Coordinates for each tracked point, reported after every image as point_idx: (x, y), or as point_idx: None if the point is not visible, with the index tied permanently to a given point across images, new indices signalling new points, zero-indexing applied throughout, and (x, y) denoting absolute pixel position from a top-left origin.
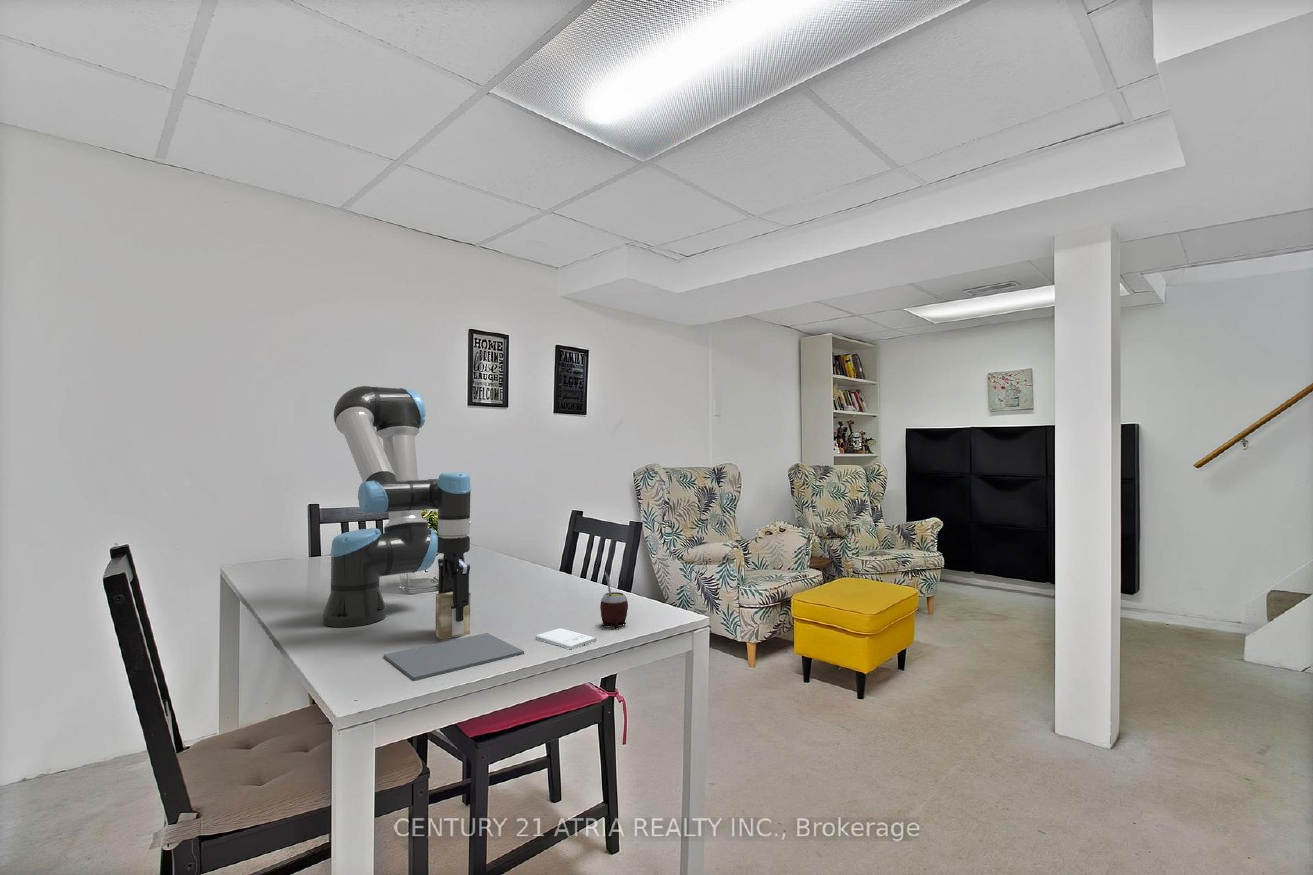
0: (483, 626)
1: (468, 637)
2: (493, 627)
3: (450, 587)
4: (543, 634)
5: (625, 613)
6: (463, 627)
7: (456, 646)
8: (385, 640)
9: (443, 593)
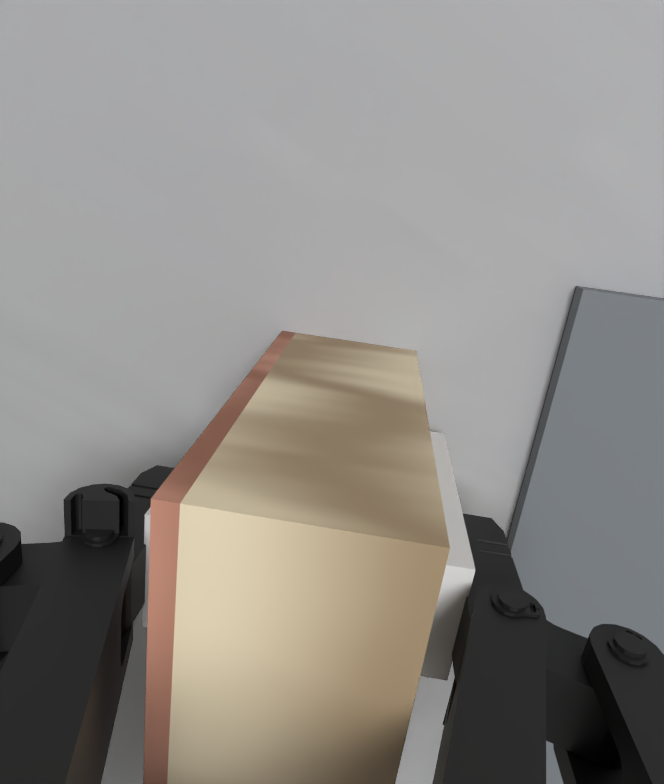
0: (314, 140)
1: (555, 459)
2: (418, 89)
3: (92, 740)
4: None
5: None
6: (449, 457)
7: (660, 620)
8: (140, 734)
9: (166, 781)
